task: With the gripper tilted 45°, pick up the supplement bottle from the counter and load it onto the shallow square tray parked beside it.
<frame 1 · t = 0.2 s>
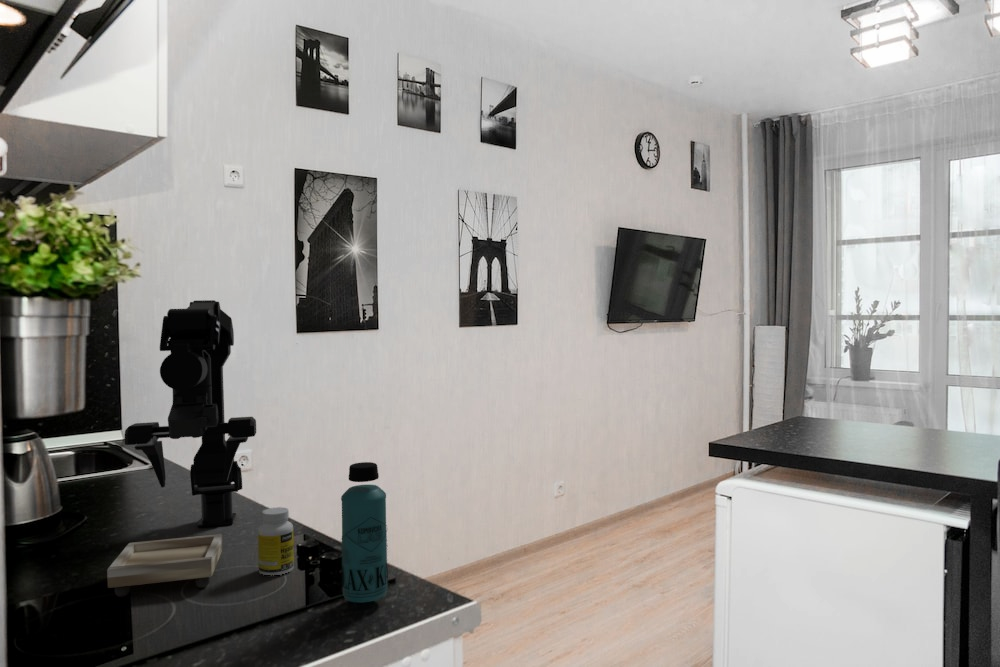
hand: (194, 484, 109), 14 cm above the counter, tool pointing down, fingers open, 9 cm apart
shallow square tray: (169, 580, 107), on the counter
beverage bottle: (366, 605, 97), on the counter
supplement bottle: (276, 572, 110), on the counter
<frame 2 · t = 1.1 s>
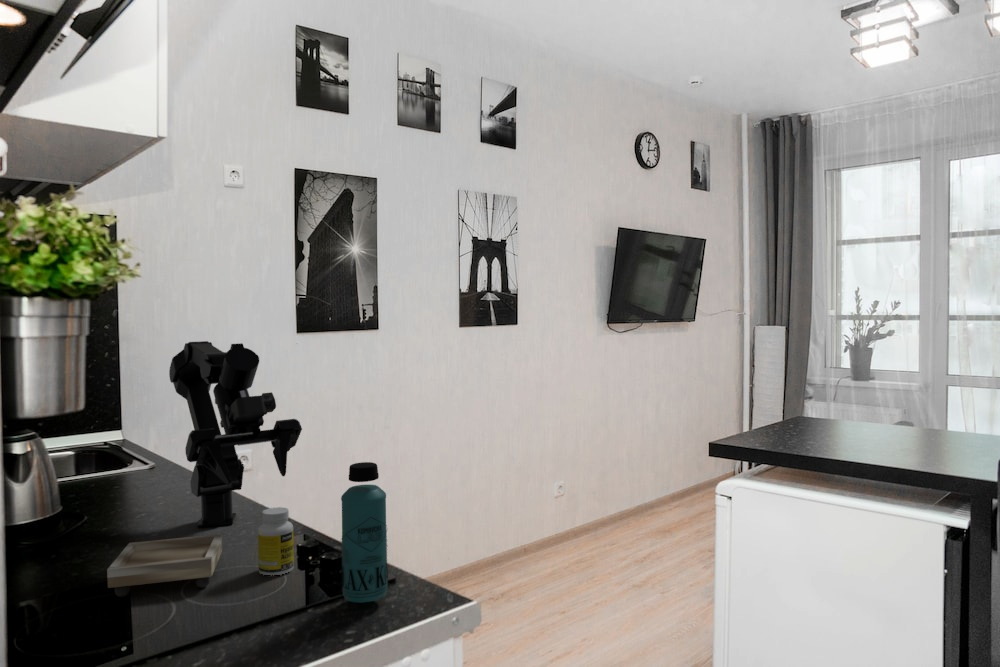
hand: (257, 479, 115), 13 cm above the counter, tool tilted 45°, fingers open, 9 cm apart
nothing on the counter moved.
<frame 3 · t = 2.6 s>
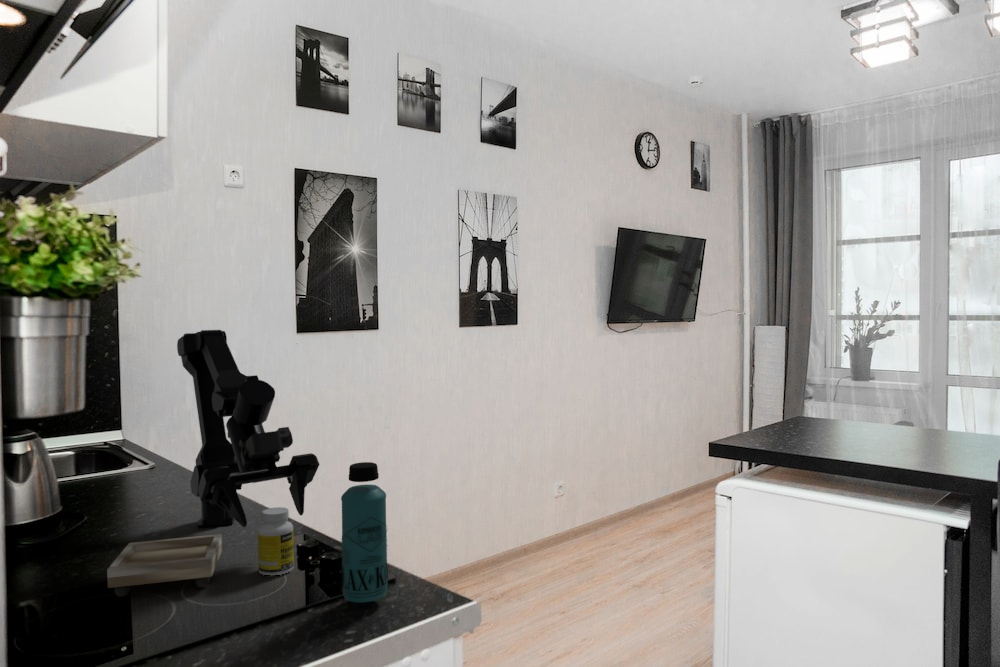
hand: (274, 519, 110), 8 cm above the counter, tool tilted 45°, fingers open, 9 cm apart
nothing on the counter moved.
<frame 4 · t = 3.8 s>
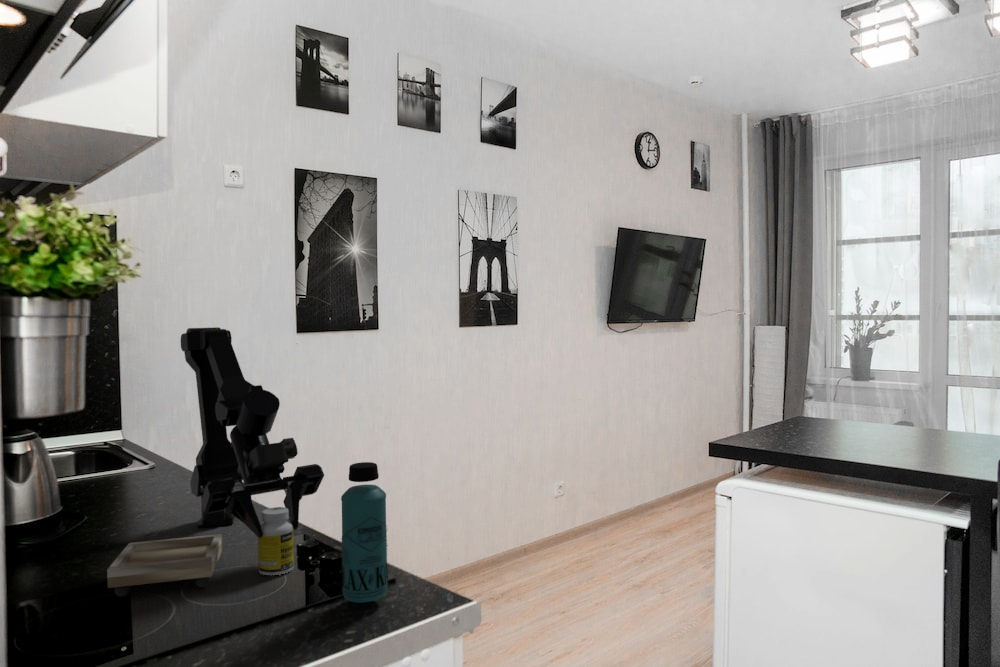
hand: (278, 532, 108), 7 cm above the counter, tool tilted 45°, fingers closed on supplement bottle, 5 cm apart
supplement bottle: (276, 572, 110), on the counter, touching gripper
everything else where it was.
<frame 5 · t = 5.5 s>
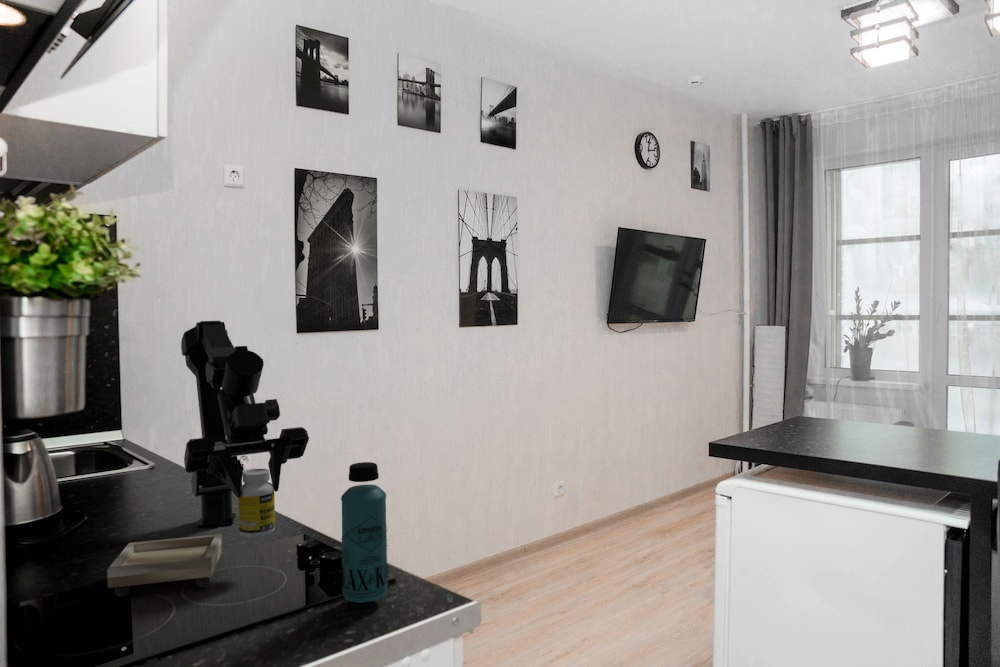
hand: (258, 493, 107), 13 cm above the counter, tool tilted 45°, fingers closed on supplement bottle, 5 cm apart
supplement bottle: (257, 533, 109), point 6 cm above the counter, touching gripper
everything else where it was.
when the fingers open (11 cm above the counter, at t = 7.3 s): supplement bottle drops 1 cm, resting on shallow square tray.
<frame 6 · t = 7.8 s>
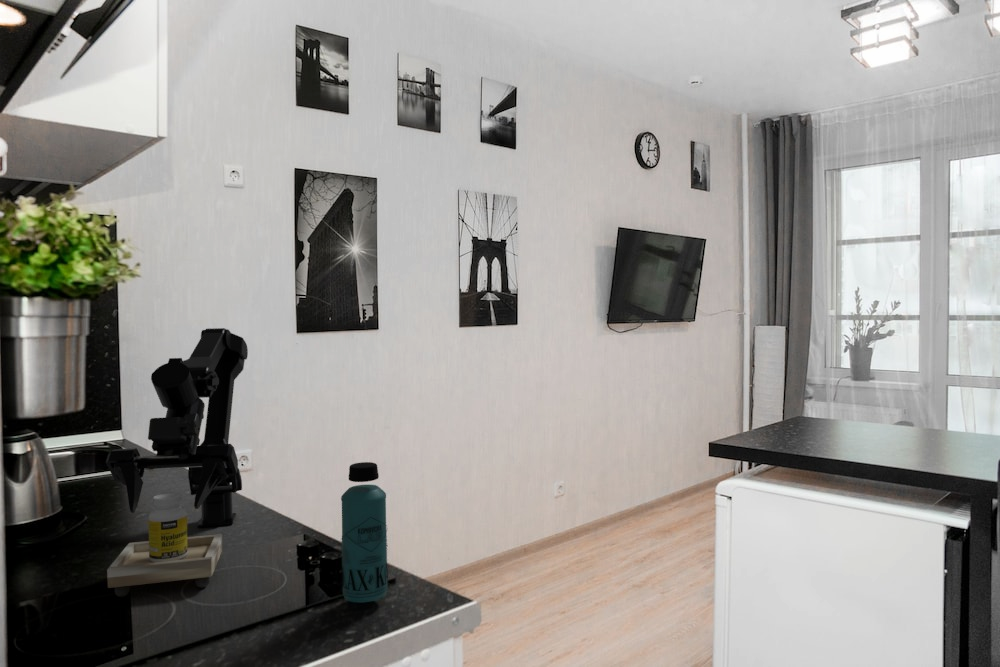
hand: (164, 509, 105), 12 cm above the counter, tool tilted 45°, fingers open, 9 cm apart
shallow square tray: (169, 580, 107), on the counter, touching supplement bottle
supplement bottle: (168, 559, 107), point 3 cm above the counter, touching shallow square tray
everything else where it was.
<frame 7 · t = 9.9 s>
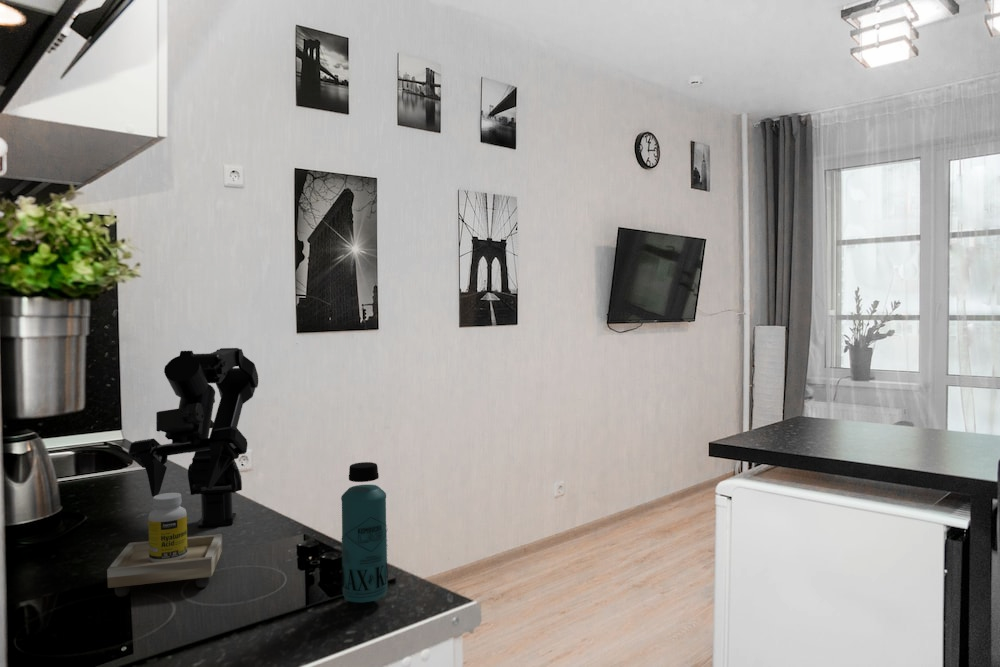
hand: (181, 492, 115), 12 cm above the counter, tool tilted 40°, fingers open, 9 cm apart
nothing on the counter moved.
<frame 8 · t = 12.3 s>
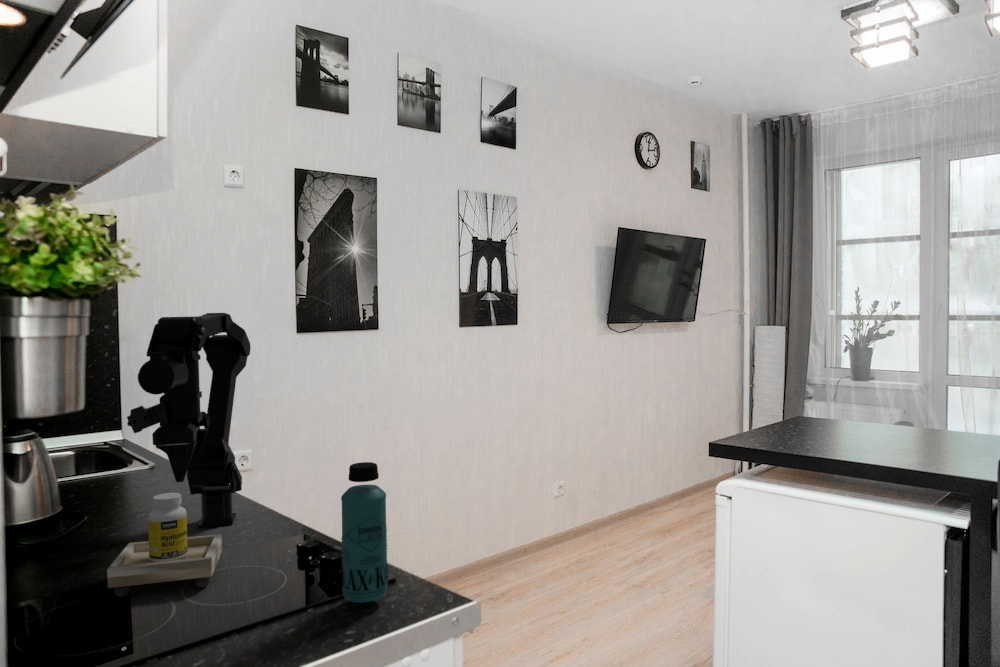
hand: (184, 475, 121), 13 cm above the counter, tool pointing down, fingers open, 9 cm apart
nothing on the counter moved.
at the end: supplement bottle inside the target area on the shallow square tray (0.1 cm from its centre), point 3.3 cm above the shallow square tray's base; supplement bottle tilted 0°; the gripper is holding nothing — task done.
